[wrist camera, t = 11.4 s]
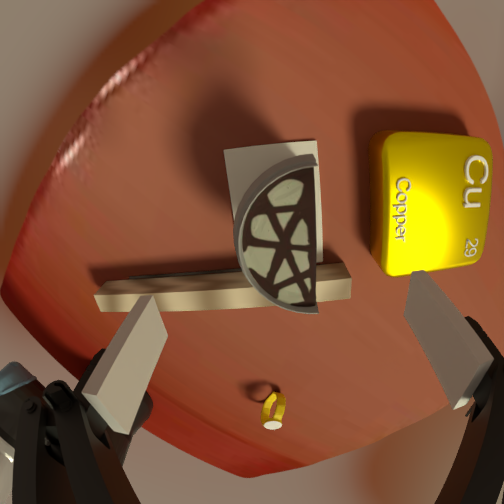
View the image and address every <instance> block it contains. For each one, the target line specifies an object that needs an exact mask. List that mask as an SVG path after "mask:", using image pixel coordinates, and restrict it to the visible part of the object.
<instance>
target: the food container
mask: <svg viewBox="0 0 504 504" xmlns="http://www.w3.org/2000/svg"><path fill="white" fill-rule="evenodd" d="M314 166H318V164H317V163H316V159H315V157H314V155H313V153H312V154H304V155H298V156H295V157H291V158H288V159H285V160H283V161H281V162H279V163H277V164H275V165H273V166H272V167H270V168H269V169H267V170H266V171H264V172H263V173H262V174H261V175H260V176H259V177H258V178H257V179H256V180H255V181H254V182H253V183H252V184H251V185H250V187H249V188H248V189H247V191H246V192H245V193H244V195H243V197H242V199H241V201H240V203H239V205H238V208H237V212H236V215H235V219H234V228H233V236H234V245H235V250H236V254H237V258H238V262H239V264H240V267H241V269H242V272H243V273H244V275H245V276H246V278H247V280H248V281H249V283H250V284H251V285H252V286H253V287H254V288H255V289H256V290H257V291H258V293H259V294H261V295H262V296H263V297H264V298H265V299H267V300H268V301H270V302H271V303H273V304H275V305H276V306H279V307H281V308H283V309H286V310H289V311H293V312H297V313H305V314H319V312H318V306H317V301H316V258H317V236H316V202H315V179H314Z"/></svg>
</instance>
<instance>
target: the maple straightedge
mask: <svg viewBox="0 0 504 504" xmlns="http://www.w3.org/2000/svg"><path fill="white" fill-rule="evenodd" d="M236 271H242V269H241V268H238V269H226V270H213V271H201V272H187V273H174V274H160V275H145V276H131V277H129V278H130V279H133V280H116V281H106V282H105V283H104V284H103V285H102V286H101V288H100V289H99V290H98V291H97V292H96V293H95V294H94V297H95V299H96V301H97V304H98V306H99V308H100V310H101V312H130V311H131V309H132V308H133V306H134V305H135V303H136V302H137V300H138V299H139V297H140V296H145V295H153V296H154V299H155V302H156V305H157V308H158V311H194V310H217V309H236V308H251V307H266V306H276V305H275V304H273V303H271V302H270V301H268V300H267V299H265V298H264V297H263V296H262V295H261V294H259V293H258V291H257V290H256V289H255V288H254V287H253V286H252V285H251V284H250V283H249V281H248V280H247V278H246V276H245V275H244V273H243V272H236ZM223 272H233V273H223ZM210 273H220V274H210ZM197 274H207V275H197ZM183 275H193V276H183ZM169 276H179V277H169ZM154 277H164V278H154ZM138 278H149V279H138ZM351 280H352V278H351V276H350V274H349V272H348V270H347V268H346V266H345V264H344V263H334V264H324V265H316V301H317V302H322V301H331V300H340V299H349V298H350V296H351Z"/></svg>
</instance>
